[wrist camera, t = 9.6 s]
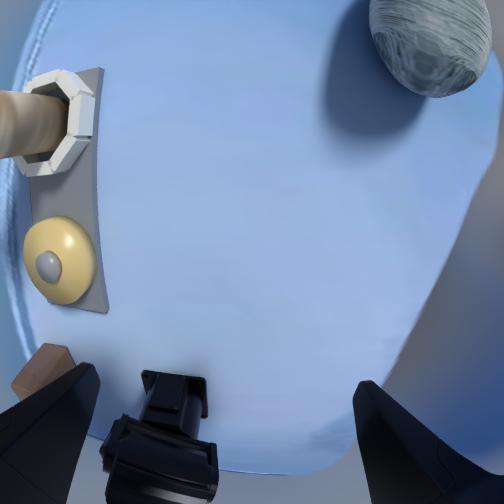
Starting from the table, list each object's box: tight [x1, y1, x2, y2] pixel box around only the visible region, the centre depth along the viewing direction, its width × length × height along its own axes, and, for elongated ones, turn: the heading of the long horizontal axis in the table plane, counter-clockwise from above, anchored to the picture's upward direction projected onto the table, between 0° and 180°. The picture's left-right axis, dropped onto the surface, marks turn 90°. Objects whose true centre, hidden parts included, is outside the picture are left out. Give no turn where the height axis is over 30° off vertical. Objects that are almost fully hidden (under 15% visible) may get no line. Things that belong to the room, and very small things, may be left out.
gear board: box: [12, 67, 109, 313], centre depth 17 cm, size 20×8×4 cm, turn 176°
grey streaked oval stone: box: [369, 0, 492, 98], centre depth 11 cm, size 14×10×10 cm
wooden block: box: [11, 343, 76, 401], centre depth 21 cm, size 4×4×8 cm
